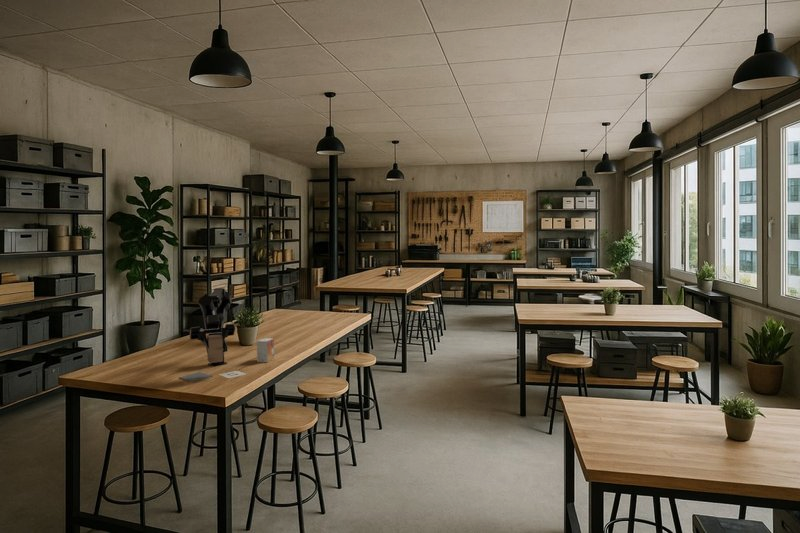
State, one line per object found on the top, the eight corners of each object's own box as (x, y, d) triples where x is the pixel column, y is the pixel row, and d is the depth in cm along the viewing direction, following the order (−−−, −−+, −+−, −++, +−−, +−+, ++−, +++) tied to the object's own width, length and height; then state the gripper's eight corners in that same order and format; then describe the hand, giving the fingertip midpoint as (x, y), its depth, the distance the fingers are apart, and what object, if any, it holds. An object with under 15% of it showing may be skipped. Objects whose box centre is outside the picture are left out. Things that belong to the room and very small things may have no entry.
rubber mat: (178, 378, 226) (178, 377, 226) (199, 373, 234) (199, 372, 234) (192, 382, 220) (192, 380, 220) (212, 376, 228) (212, 375, 228)
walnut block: (207, 360, 229) (206, 335, 228) (220, 358, 232) (220, 334, 231) (209, 363, 224) (208, 337, 224) (223, 361, 227) (222, 336, 226)
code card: (218, 374, 232) (218, 374, 232) (237, 371, 238) (237, 370, 238) (227, 378, 225) (227, 378, 225) (246, 374, 232) (246, 374, 232)
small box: (267, 362, 253) (267, 341, 253) (257, 362, 254) (256, 341, 254) (274, 358, 261) (274, 338, 260) (264, 358, 262) (263, 337, 262)
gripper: (189, 309, 226) (193, 338, 217) (233, 306, 235) (239, 334, 226) (188, 324, 233) (192, 353, 224) (231, 320, 242) (236, 348, 233)
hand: (215, 347), depth 226 cm, fingers closed on walnut block, 6 cm apart
